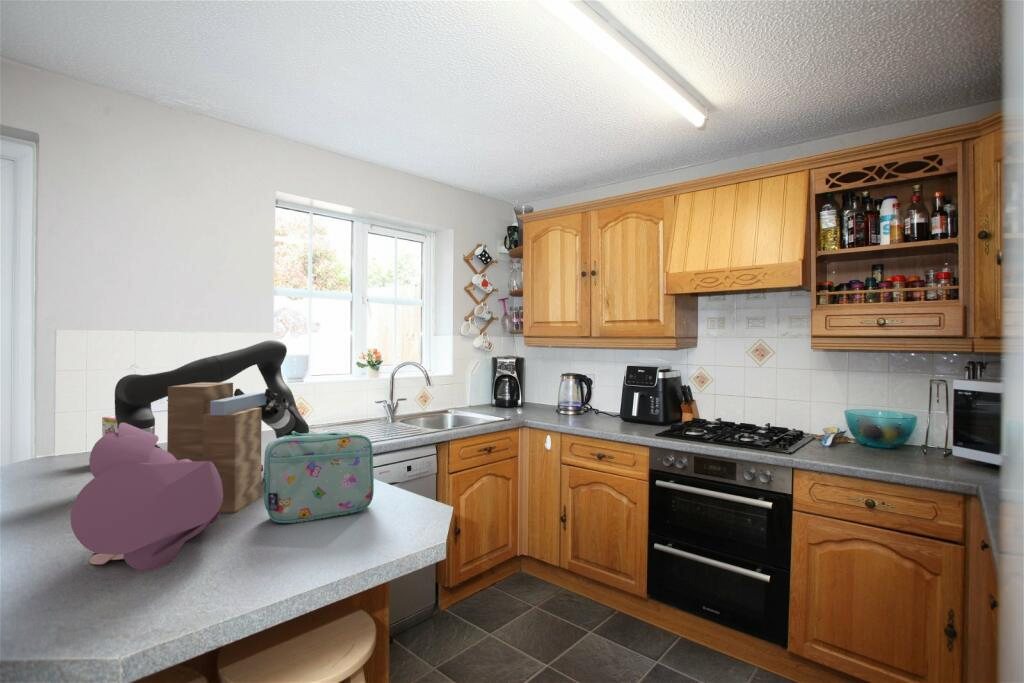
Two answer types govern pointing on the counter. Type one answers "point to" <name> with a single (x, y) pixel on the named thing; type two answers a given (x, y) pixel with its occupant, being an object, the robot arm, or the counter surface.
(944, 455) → the counter surface
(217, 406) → the rail
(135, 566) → the mauve lumpy blob
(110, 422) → the candy bar box
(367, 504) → the lunch box
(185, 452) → the stand
